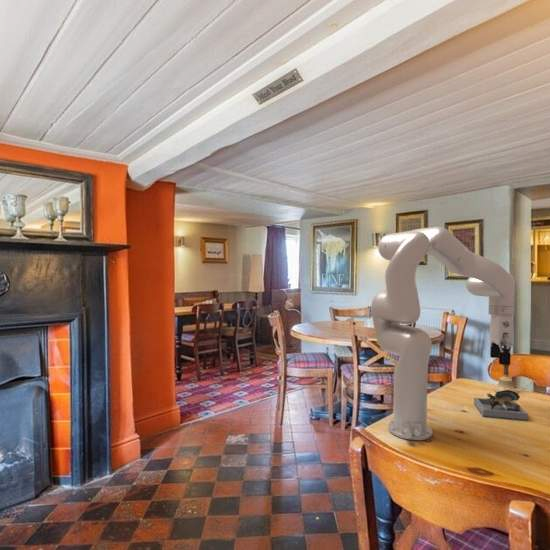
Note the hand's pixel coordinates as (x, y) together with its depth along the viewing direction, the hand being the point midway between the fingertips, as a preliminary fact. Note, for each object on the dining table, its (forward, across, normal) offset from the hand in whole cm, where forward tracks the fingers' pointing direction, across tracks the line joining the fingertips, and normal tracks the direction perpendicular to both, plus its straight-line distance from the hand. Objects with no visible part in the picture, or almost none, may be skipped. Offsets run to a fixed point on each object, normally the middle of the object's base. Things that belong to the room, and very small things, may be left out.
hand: (499, 360), depth 130 cm
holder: (+18, 0, 0) cm, 18 cm away
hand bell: (+18, +24, -9) cm, 31 cm away
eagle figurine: (+16, 0, -2) cm, 16 cm away
